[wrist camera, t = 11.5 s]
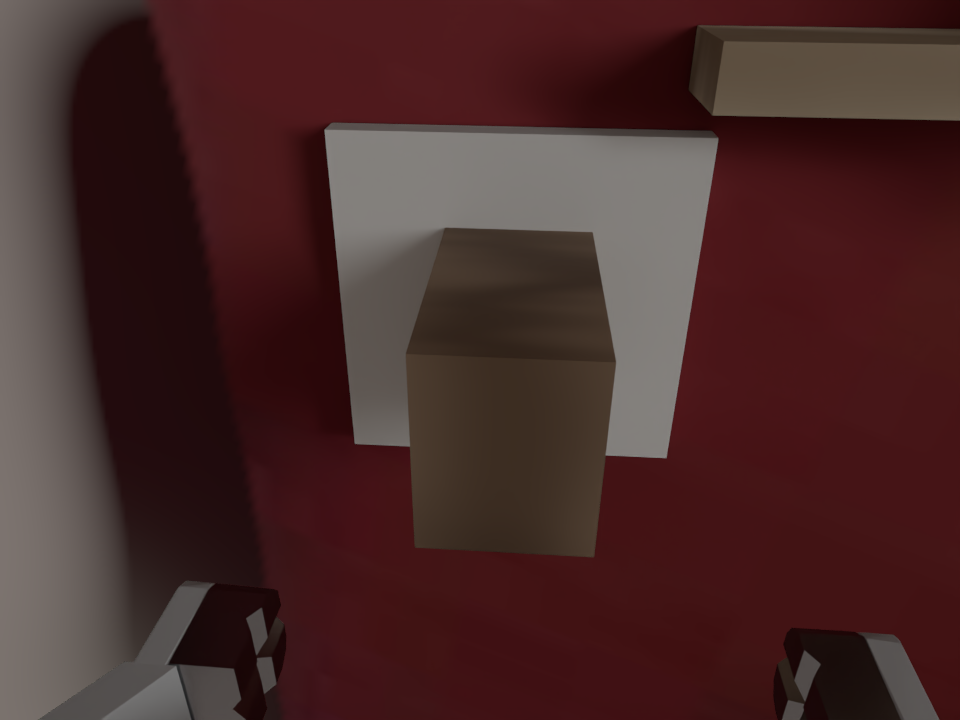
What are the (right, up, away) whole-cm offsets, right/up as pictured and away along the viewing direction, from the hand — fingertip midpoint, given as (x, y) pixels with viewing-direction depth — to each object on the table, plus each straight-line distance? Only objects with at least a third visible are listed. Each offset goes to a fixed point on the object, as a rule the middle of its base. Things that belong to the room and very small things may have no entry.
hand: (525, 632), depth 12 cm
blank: (0, +6, +9) cm, 11 cm away
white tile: (0, +6, +10) cm, 12 cm away
